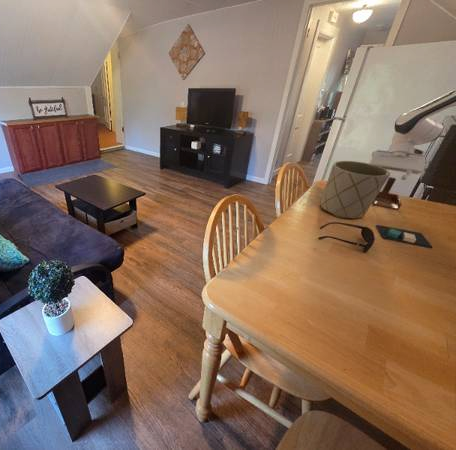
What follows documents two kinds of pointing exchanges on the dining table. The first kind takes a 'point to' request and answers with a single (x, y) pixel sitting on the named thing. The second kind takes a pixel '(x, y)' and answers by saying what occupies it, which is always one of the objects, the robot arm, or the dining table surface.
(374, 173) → the planter
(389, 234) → the packet
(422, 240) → the mat
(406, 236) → the packet
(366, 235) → the sunglasses
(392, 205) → the basket
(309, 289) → the dining table surface
